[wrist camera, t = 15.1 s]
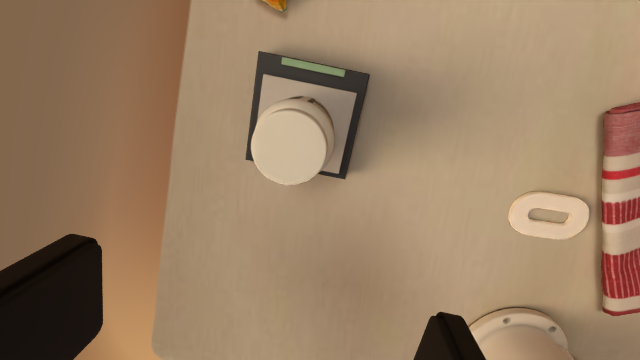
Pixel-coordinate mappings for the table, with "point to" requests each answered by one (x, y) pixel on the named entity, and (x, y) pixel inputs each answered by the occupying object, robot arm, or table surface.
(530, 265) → the table surface
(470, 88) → the table surface
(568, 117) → the table surface
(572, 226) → the chain link
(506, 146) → the table surface
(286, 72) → the scale
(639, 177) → the dish towel
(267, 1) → the fish
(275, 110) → the pill bottle
